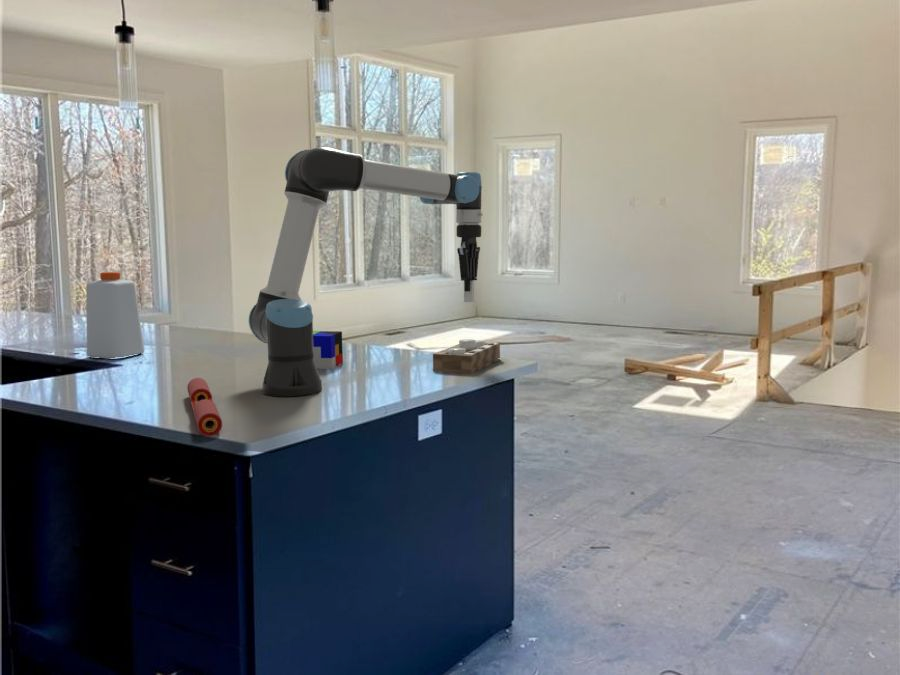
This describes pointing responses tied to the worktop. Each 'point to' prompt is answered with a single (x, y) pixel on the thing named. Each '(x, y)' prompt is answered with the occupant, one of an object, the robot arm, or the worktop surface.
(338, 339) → the puzzle toy
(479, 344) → the right button
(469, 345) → the middle button
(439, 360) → the button panel
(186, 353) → the worktop surface
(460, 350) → the left button
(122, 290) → the plastic bottle
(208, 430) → the blood vessel
